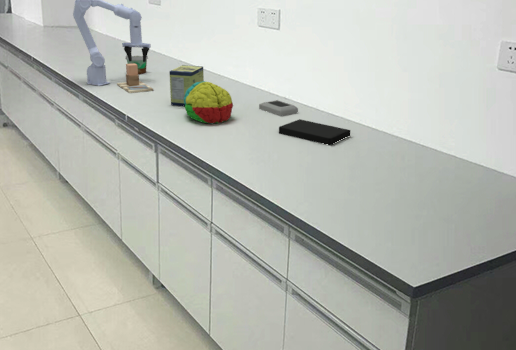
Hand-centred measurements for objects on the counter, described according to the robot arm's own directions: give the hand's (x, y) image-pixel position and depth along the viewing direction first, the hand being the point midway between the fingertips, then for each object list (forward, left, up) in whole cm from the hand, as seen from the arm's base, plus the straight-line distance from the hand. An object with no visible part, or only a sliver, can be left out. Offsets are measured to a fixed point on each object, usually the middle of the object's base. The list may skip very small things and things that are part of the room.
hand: (137, 61), depth 310 cm
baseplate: (+9, -12, -10) cm, 18 cm away
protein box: (+49, -19, -11) cm, 54 cm away
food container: (-14, +14, -11) cm, 22 cm away
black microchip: (+120, -30, -11) cm, 124 cm away
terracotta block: (+6, -10, -4) cm, 12 cm away
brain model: (+72, -34, -11) cm, 80 cm away
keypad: (+91, -8, -11) cm, 92 cm away
